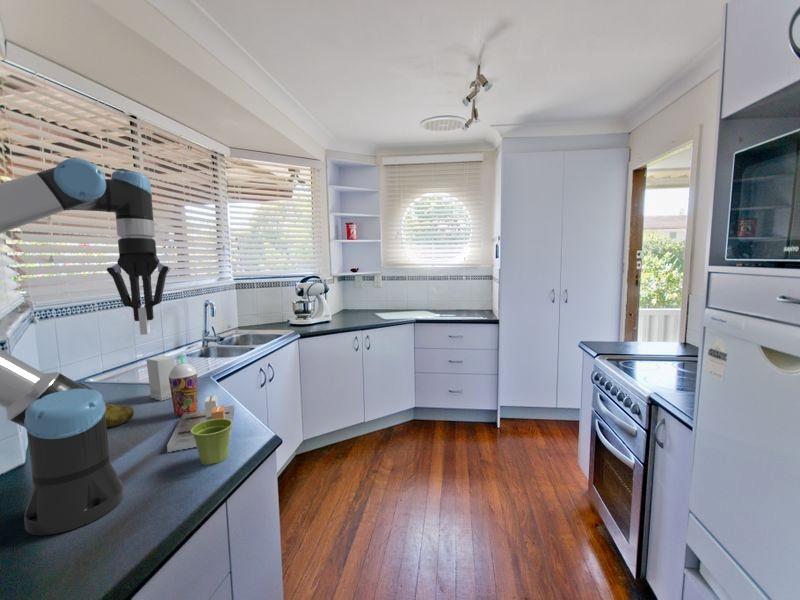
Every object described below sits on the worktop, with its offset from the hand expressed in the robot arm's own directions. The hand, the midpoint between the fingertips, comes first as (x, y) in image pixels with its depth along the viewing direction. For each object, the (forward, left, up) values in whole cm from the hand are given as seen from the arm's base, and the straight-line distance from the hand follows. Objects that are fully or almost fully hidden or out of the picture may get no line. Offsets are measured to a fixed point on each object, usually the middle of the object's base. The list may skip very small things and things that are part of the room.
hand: (145, 333), depth 93 cm
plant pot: (+14, -7, -33) cm, 36 cm away
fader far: (+11, +20, -30) cm, 38 cm away
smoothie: (+2, +31, -33) cm, 45 cm away
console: (+10, +14, -32) cm, 37 cm away
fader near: (+14, +9, -30) cm, 34 cm away
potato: (-19, +30, -33) cm, 48 cm away
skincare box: (-9, +54, -33) cm, 64 cm away
